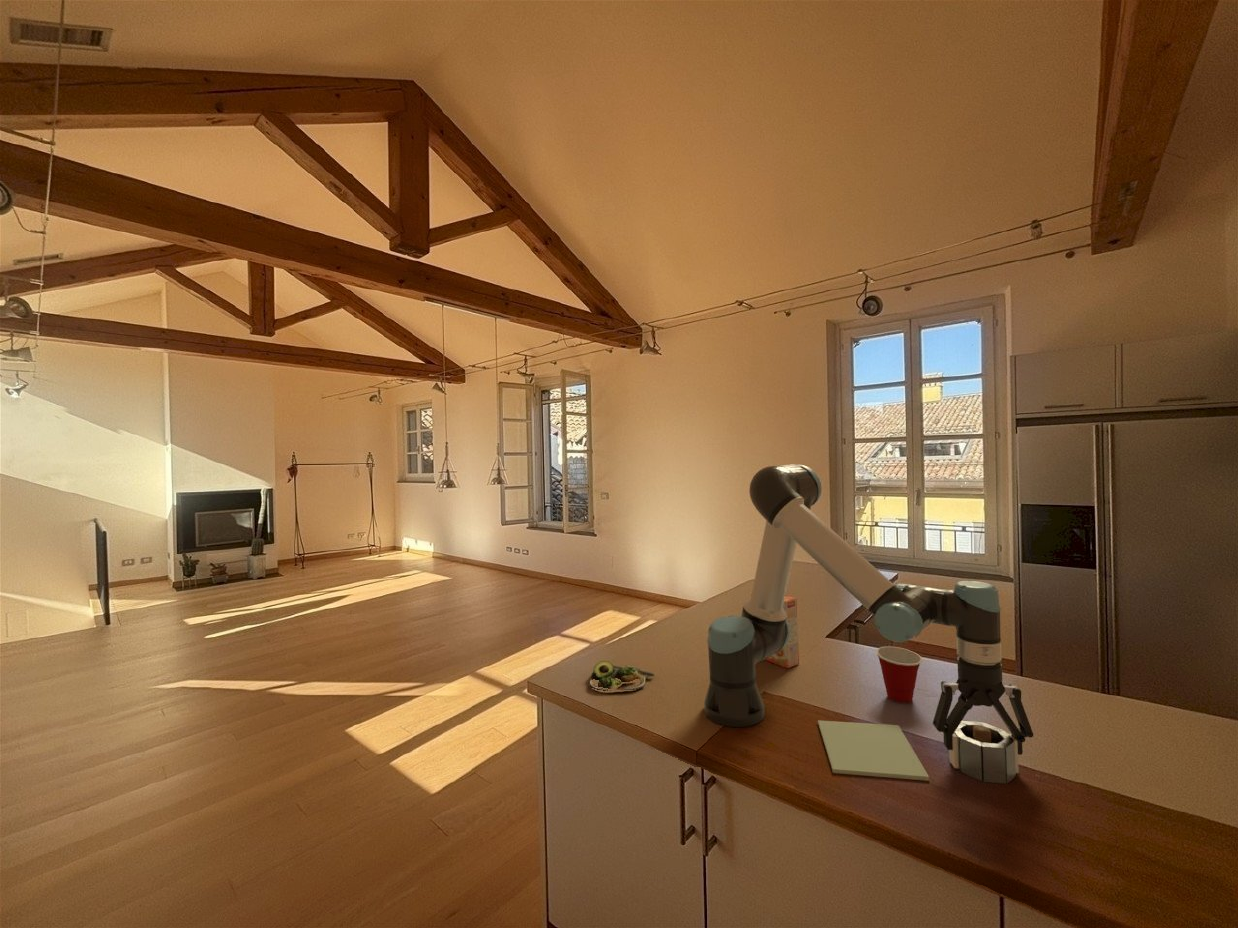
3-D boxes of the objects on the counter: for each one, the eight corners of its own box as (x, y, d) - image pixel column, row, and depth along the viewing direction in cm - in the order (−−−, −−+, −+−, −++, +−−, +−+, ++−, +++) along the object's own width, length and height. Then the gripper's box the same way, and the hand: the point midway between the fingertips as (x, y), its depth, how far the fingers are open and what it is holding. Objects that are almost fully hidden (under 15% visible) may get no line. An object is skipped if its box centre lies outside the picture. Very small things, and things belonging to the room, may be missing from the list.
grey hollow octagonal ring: (966, 780, 103) (965, 745, 103) (946, 751, 113) (945, 719, 113) (1024, 784, 101) (1022, 749, 101) (998, 755, 111) (997, 722, 110)
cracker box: (800, 664, 162) (797, 597, 162) (787, 669, 159) (784, 601, 159) (765, 651, 174) (762, 589, 174) (752, 656, 171) (749, 592, 171)
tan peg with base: (974, 774, 105) (973, 734, 105) (963, 759, 110) (962, 721, 110) (1004, 776, 104) (1002, 736, 104) (991, 761, 109) (990, 723, 109)
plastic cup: (911, 712, 130) (909, 665, 130) (869, 697, 139) (867, 652, 139) (932, 699, 136) (930, 653, 136) (890, 685, 145) (889, 643, 145)
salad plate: (654, 668, 165) (654, 654, 165) (654, 694, 147) (654, 678, 147) (594, 670, 166) (593, 655, 166) (587, 695, 149) (586, 679, 148)
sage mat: (833, 772, 107) (832, 768, 107) (818, 723, 127) (817, 720, 127) (929, 780, 104) (929, 776, 103) (898, 728, 123) (898, 725, 123)
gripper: (924, 663, 105) (928, 772, 106) (1053, 668, 100) (1058, 782, 101) (912, 649, 113) (916, 751, 113) (1032, 653, 108) (1036, 760, 108)
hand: (983, 766), depth 107 cm, fingers closed on grey hollow octagonal ring, 10 cm apart
